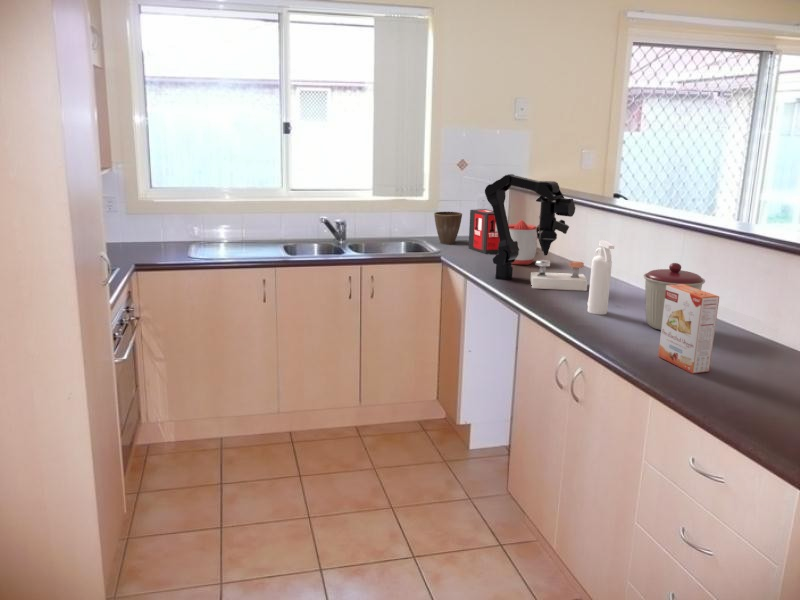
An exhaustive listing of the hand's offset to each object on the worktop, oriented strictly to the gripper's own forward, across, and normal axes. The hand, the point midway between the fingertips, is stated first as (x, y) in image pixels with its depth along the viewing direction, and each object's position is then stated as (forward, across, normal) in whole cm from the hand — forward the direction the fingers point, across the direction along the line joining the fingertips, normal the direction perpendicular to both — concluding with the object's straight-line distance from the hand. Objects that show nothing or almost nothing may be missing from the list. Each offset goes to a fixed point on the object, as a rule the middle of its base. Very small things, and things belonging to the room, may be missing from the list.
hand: (544, 253), depth 271 cm
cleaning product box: (+14, +73, +22) cm, 77 cm away
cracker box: (+13, -90, -29) cm, 95 cm away
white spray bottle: (+13, -38, -15) cm, 43 cm away
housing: (+13, -1, -6) cm, 14 cm away
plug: (+8, 0, 0) cm, 8 cm away
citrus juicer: (+13, +45, +5) cm, 47 cm away
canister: (+13, -54, -34) cm, 66 cm away
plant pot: (+14, +92, +41) cm, 102 cm away
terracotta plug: (+8, -1, -13) cm, 15 cm away
